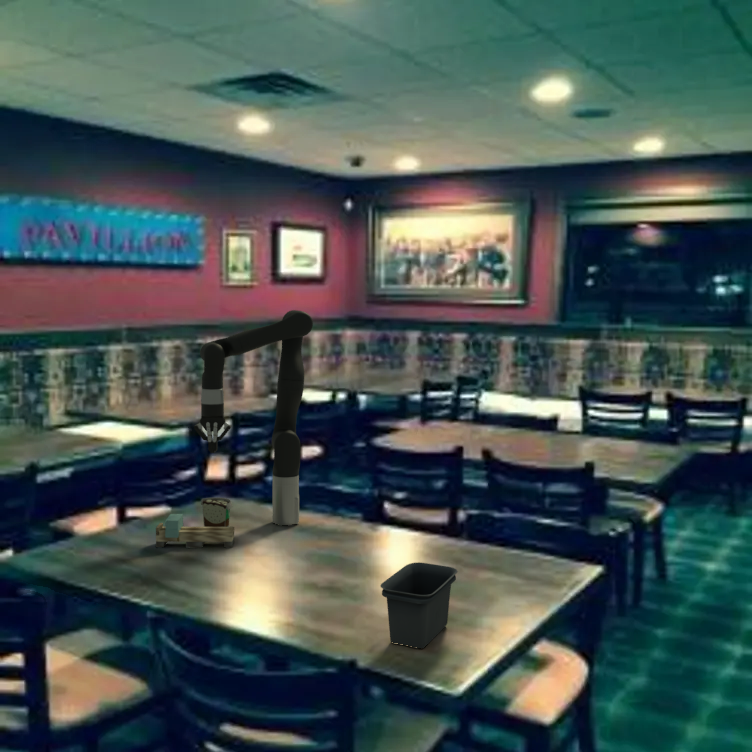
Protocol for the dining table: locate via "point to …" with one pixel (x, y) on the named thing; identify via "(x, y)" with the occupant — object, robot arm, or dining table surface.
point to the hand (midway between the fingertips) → (212, 452)
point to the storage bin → (418, 602)
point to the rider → (173, 525)
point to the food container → (216, 512)
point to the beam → (197, 536)
